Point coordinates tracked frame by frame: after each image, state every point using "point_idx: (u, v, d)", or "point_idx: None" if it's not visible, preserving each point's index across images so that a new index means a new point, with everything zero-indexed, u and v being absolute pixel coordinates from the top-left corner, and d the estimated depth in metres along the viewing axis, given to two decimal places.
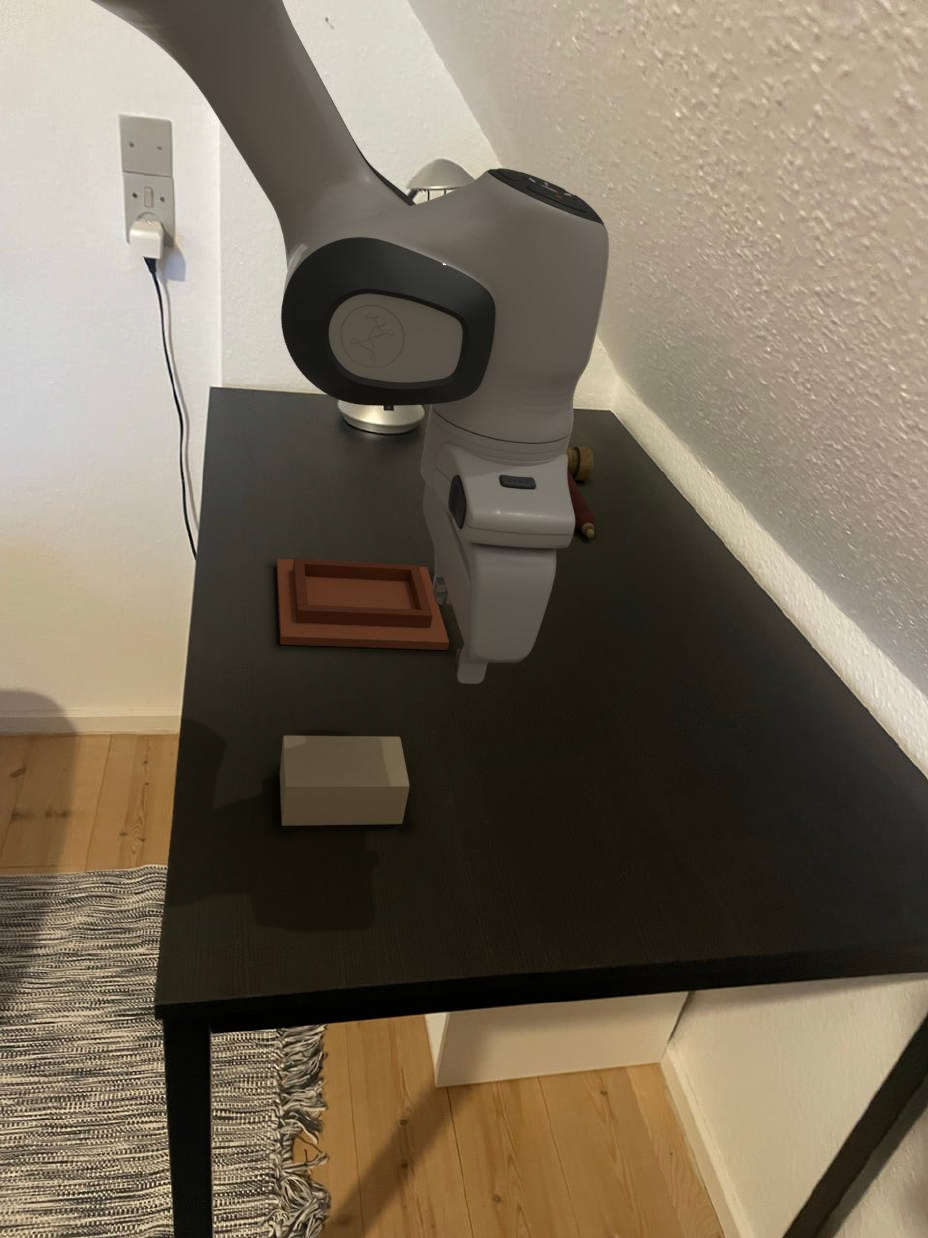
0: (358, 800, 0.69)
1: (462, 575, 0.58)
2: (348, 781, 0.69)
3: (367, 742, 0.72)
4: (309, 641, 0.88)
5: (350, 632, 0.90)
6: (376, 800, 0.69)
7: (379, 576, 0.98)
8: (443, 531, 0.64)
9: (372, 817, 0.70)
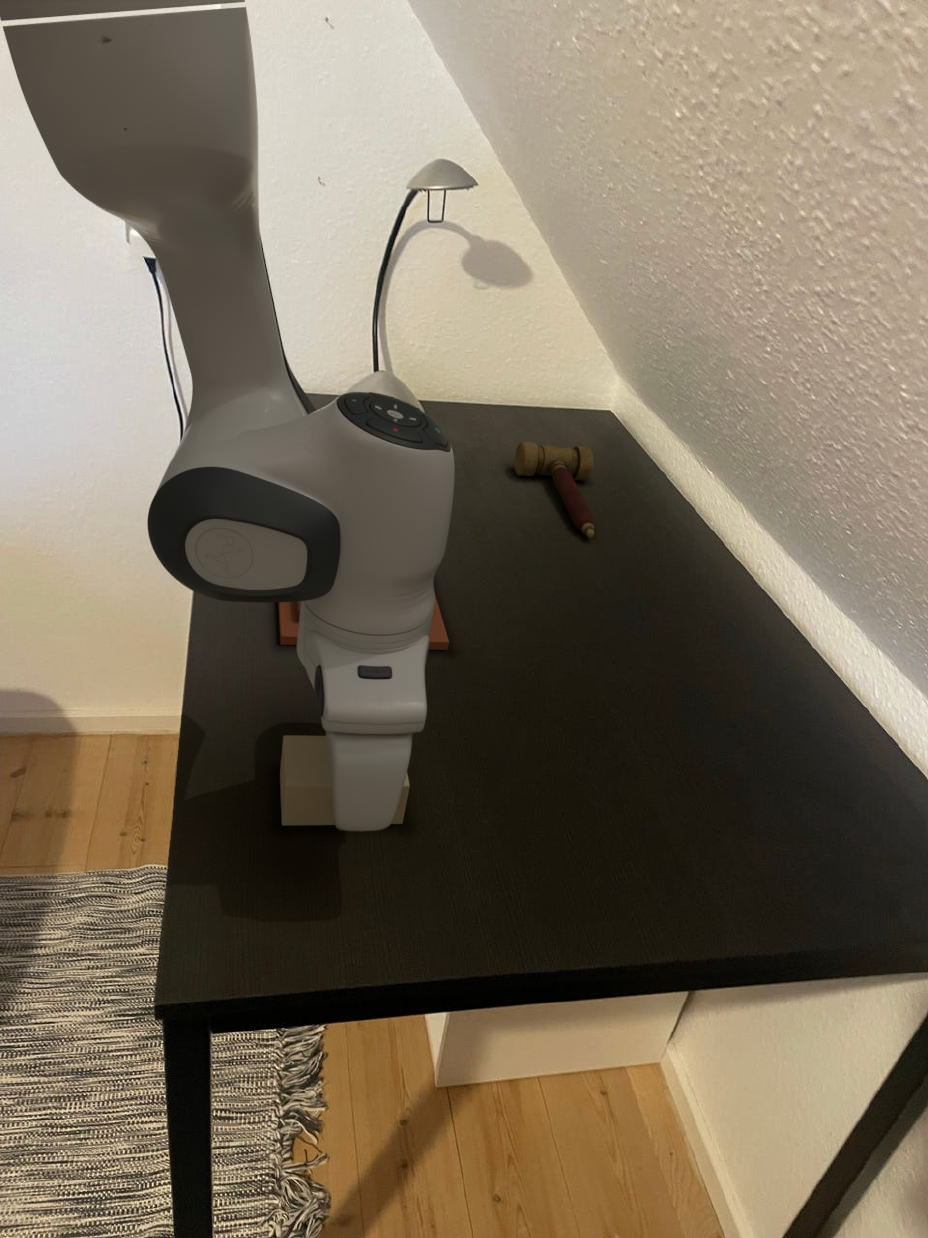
0: None
1: None
2: None
3: None
4: None
5: None
6: None
7: None
8: None
9: None
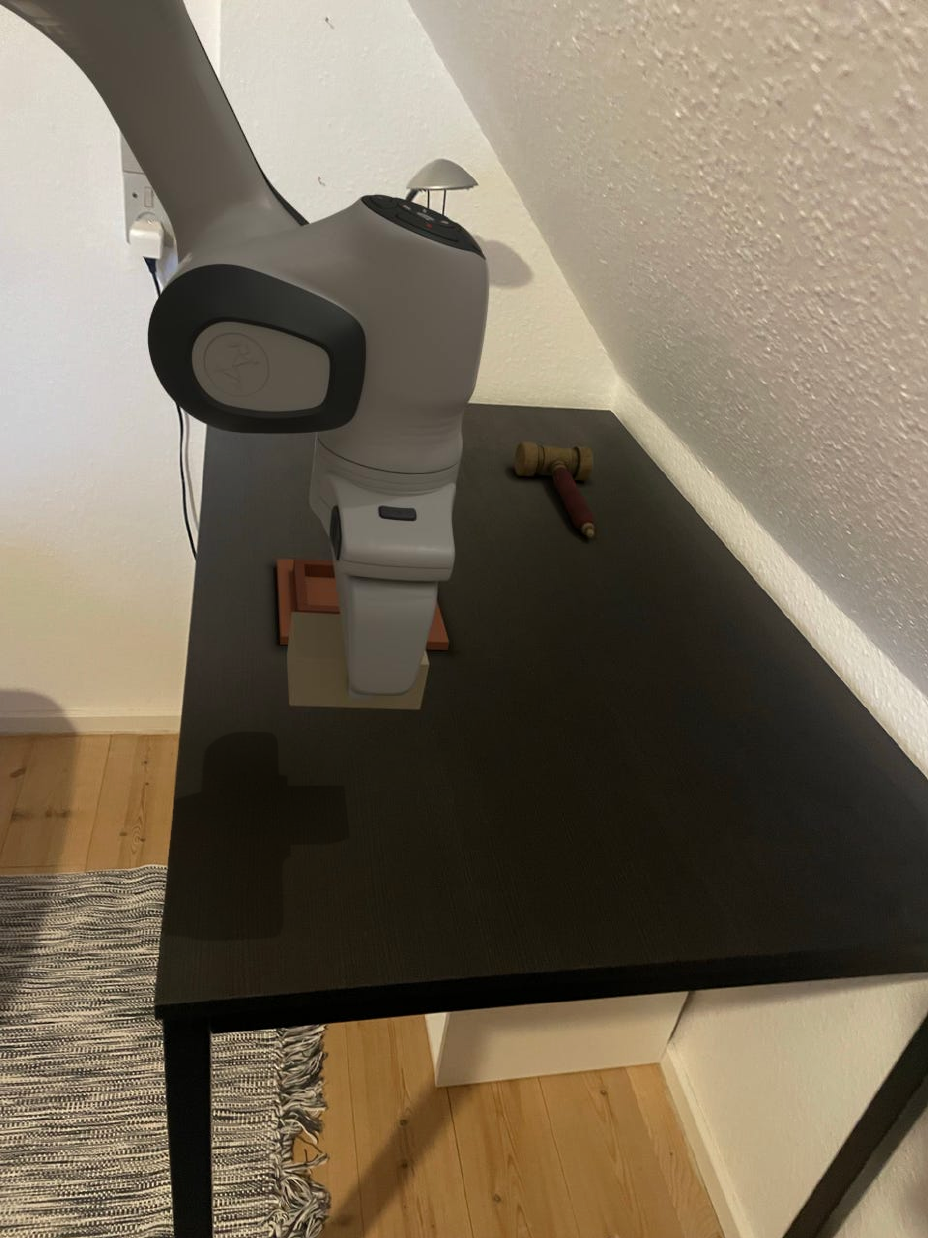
0: None
1: None
2: None
3: None
4: None
5: None
6: None
7: None
8: None
9: (388, 700, 0.65)
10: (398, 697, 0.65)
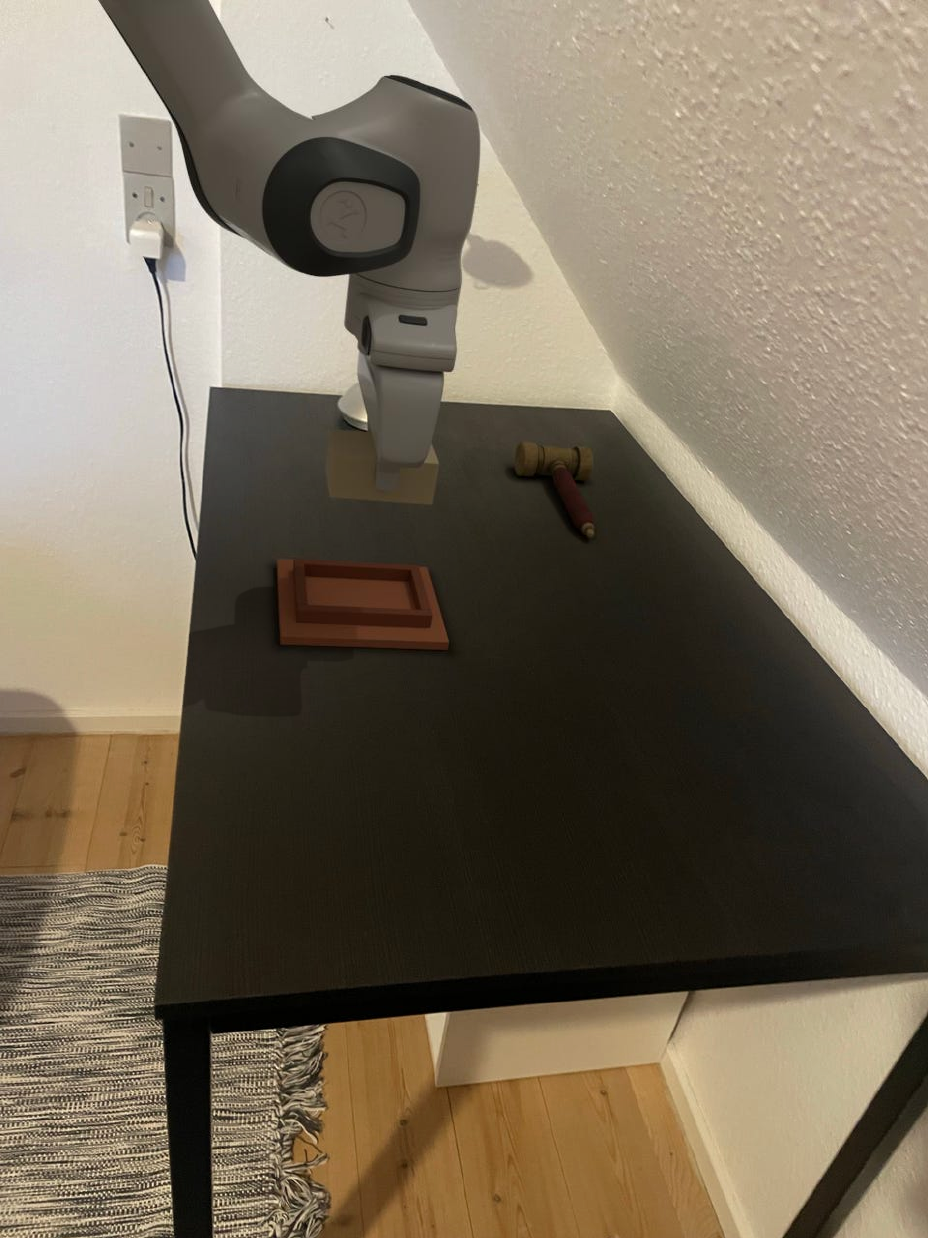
0: None
1: (376, 402, 0.74)
2: None
3: None
4: (309, 641, 0.88)
5: (350, 632, 0.90)
6: (410, 476, 0.81)
7: (379, 576, 0.98)
8: (367, 379, 0.80)
9: (406, 495, 0.82)
10: (415, 493, 0.82)
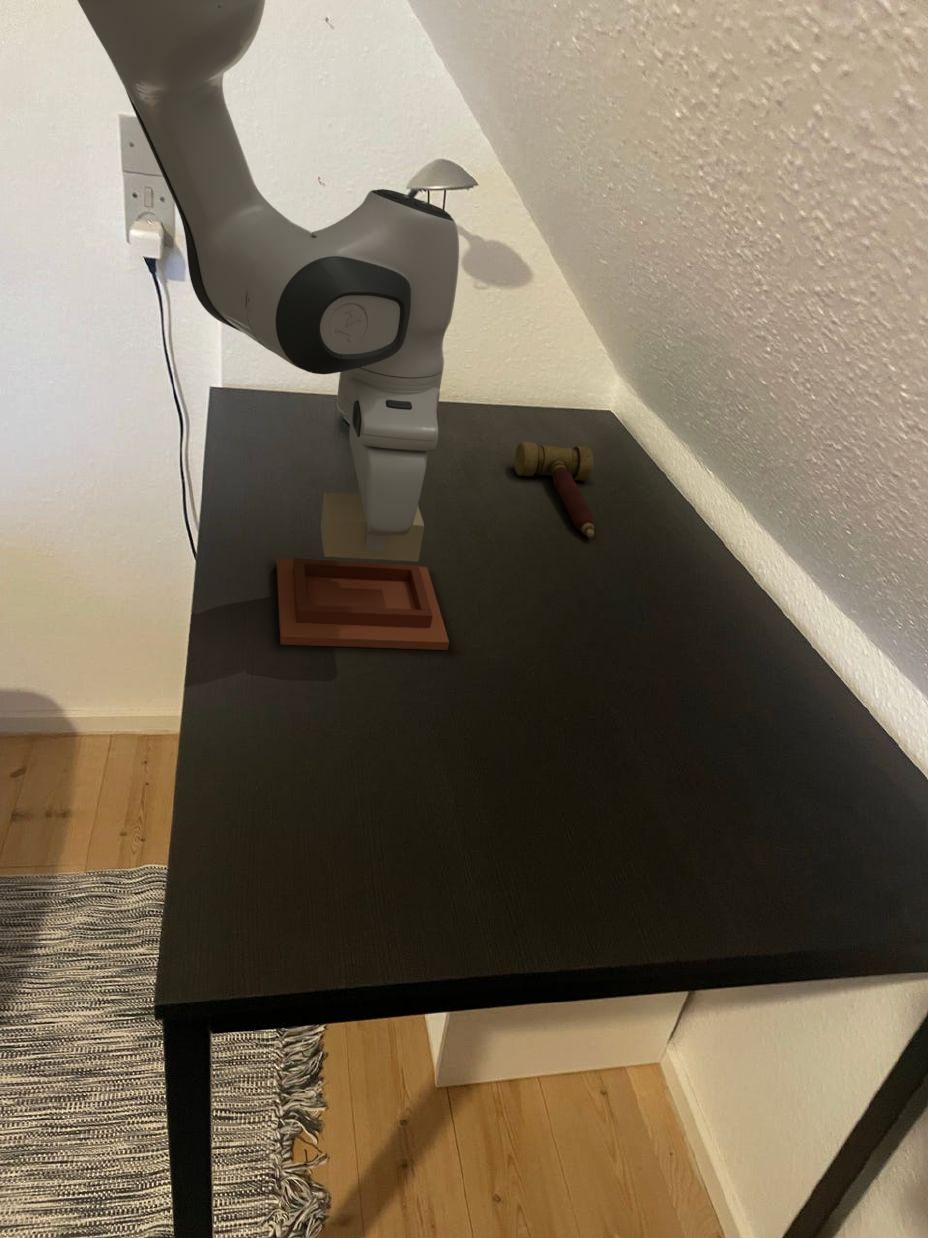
0: None
1: (366, 475, 0.82)
2: None
3: None
4: (309, 641, 0.88)
5: (350, 632, 0.90)
6: (398, 537, 0.88)
7: (379, 576, 0.98)
8: (358, 449, 0.88)
9: (394, 553, 0.89)
10: (402, 551, 0.89)
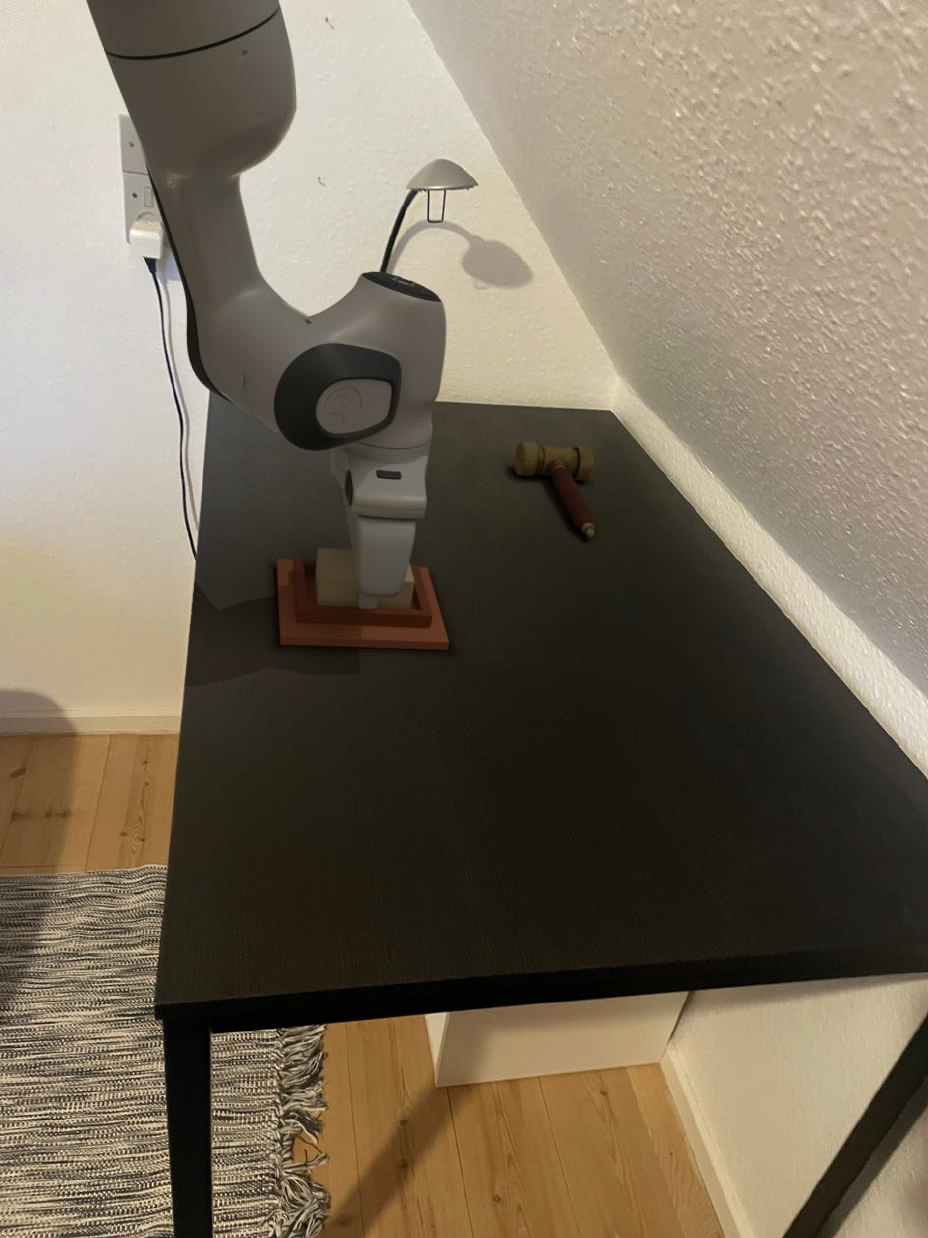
0: None
1: (358, 539, 0.85)
2: None
3: None
4: (309, 641, 0.88)
5: (350, 632, 0.90)
6: None
7: None
8: (351, 510, 0.91)
9: None
10: (393, 606, 0.93)
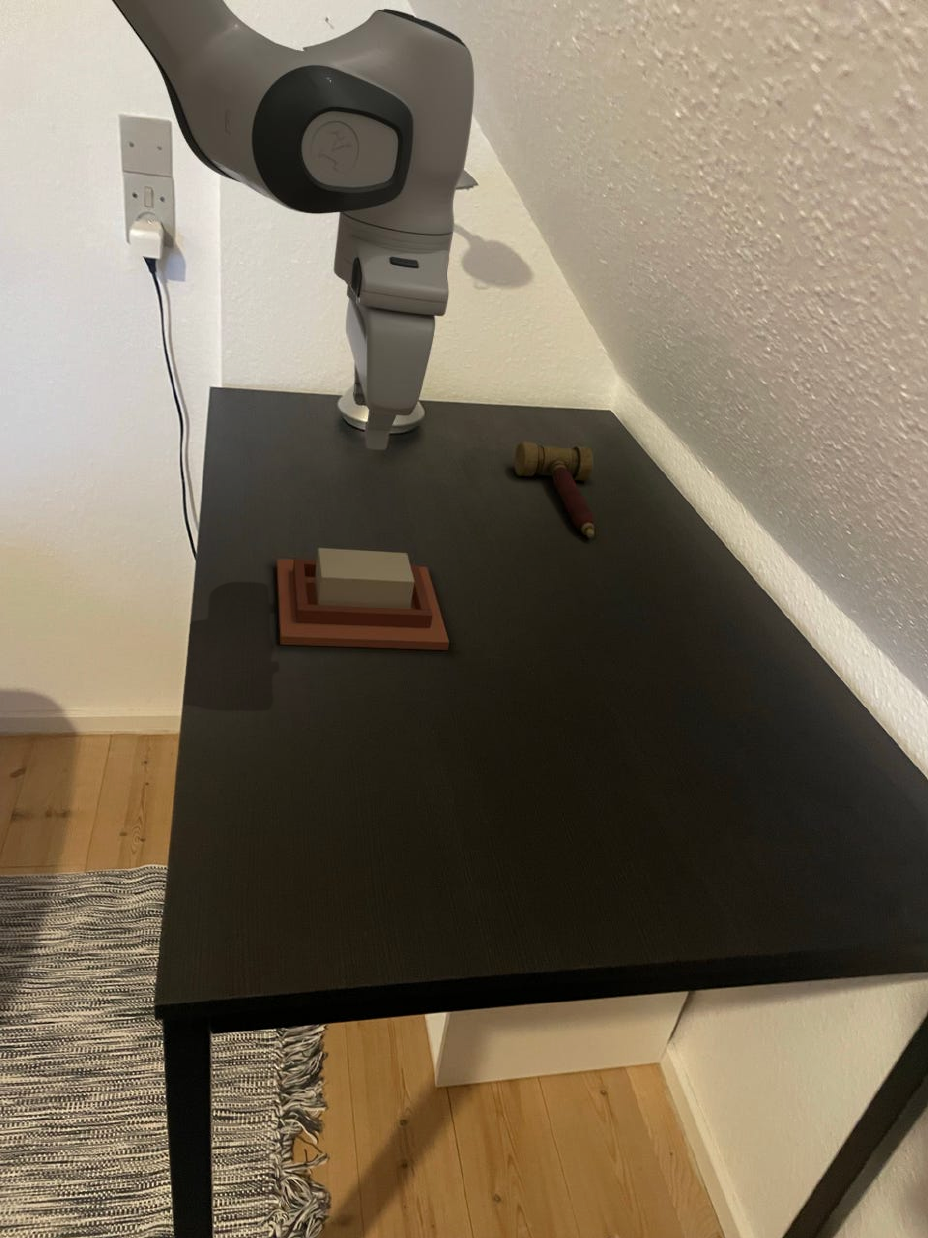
0: (375, 591, 0.91)
1: (365, 349, 0.73)
2: (368, 576, 0.91)
3: (382, 555, 0.95)
4: (309, 641, 0.88)
5: (350, 632, 0.90)
6: (389, 592, 0.92)
7: None
8: (356, 330, 0.79)
9: None
10: (393, 606, 0.93)
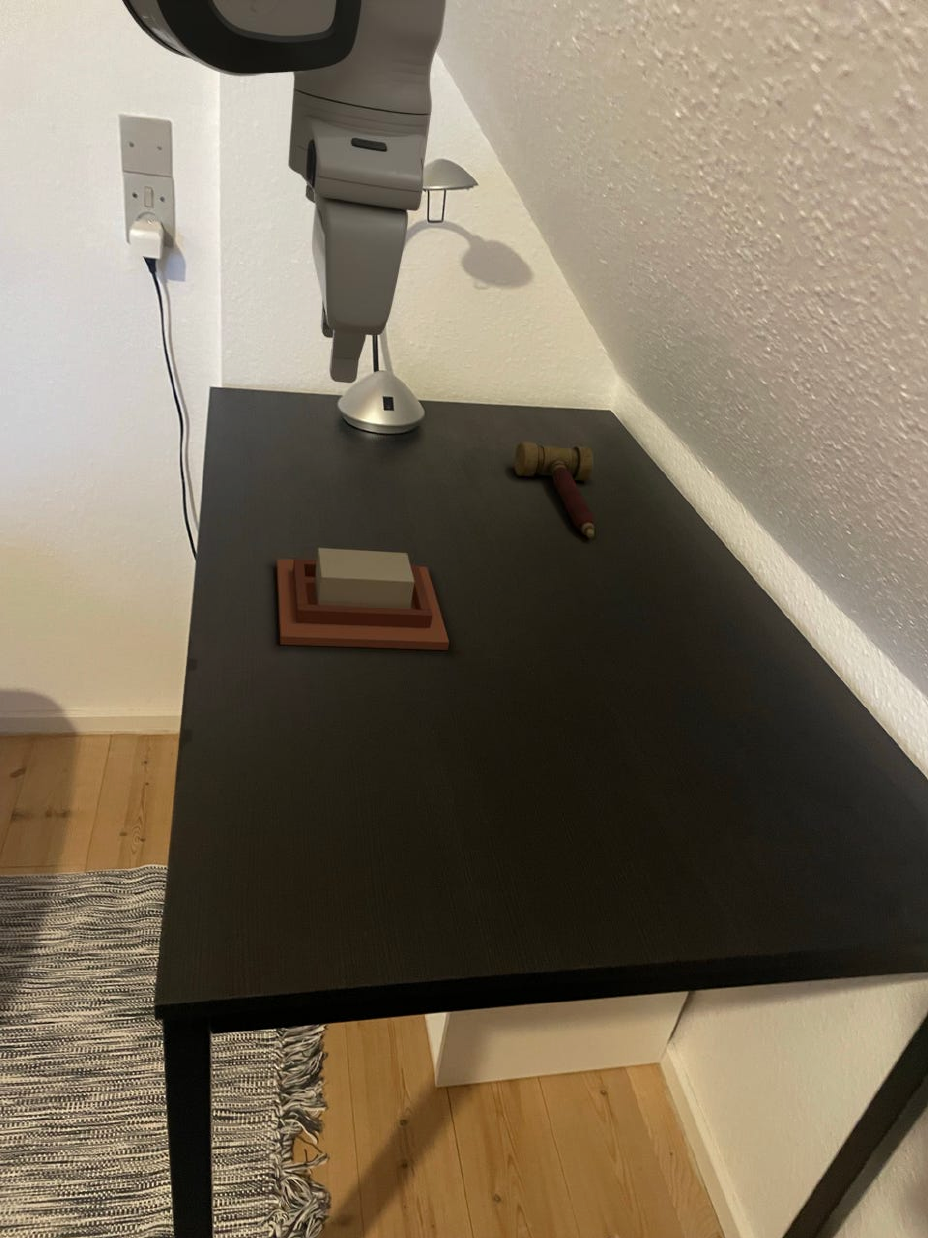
0: (375, 591, 0.91)
1: None
2: (368, 576, 0.91)
3: (382, 555, 0.95)
4: (309, 641, 0.88)
5: (350, 632, 0.90)
6: (389, 592, 0.92)
7: None
8: (319, 242, 0.66)
9: None
10: (393, 606, 0.93)
